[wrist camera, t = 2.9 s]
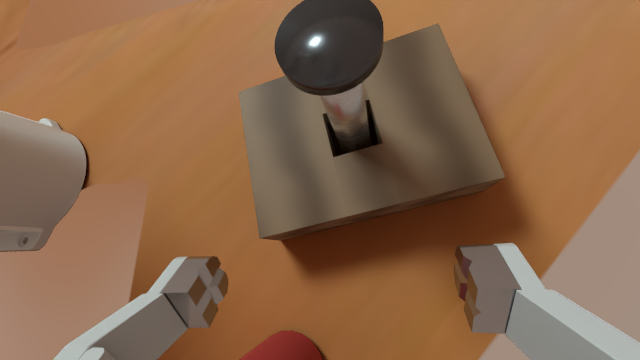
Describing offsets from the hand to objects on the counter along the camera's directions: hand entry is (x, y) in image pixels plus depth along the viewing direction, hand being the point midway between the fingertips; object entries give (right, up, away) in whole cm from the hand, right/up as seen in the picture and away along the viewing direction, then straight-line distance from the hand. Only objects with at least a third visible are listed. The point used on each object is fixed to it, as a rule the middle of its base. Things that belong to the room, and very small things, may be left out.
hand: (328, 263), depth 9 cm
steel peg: (+4, +6, +20) cm, 21 cm away
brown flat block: (+4, +6, +20) cm, 21 cm away
